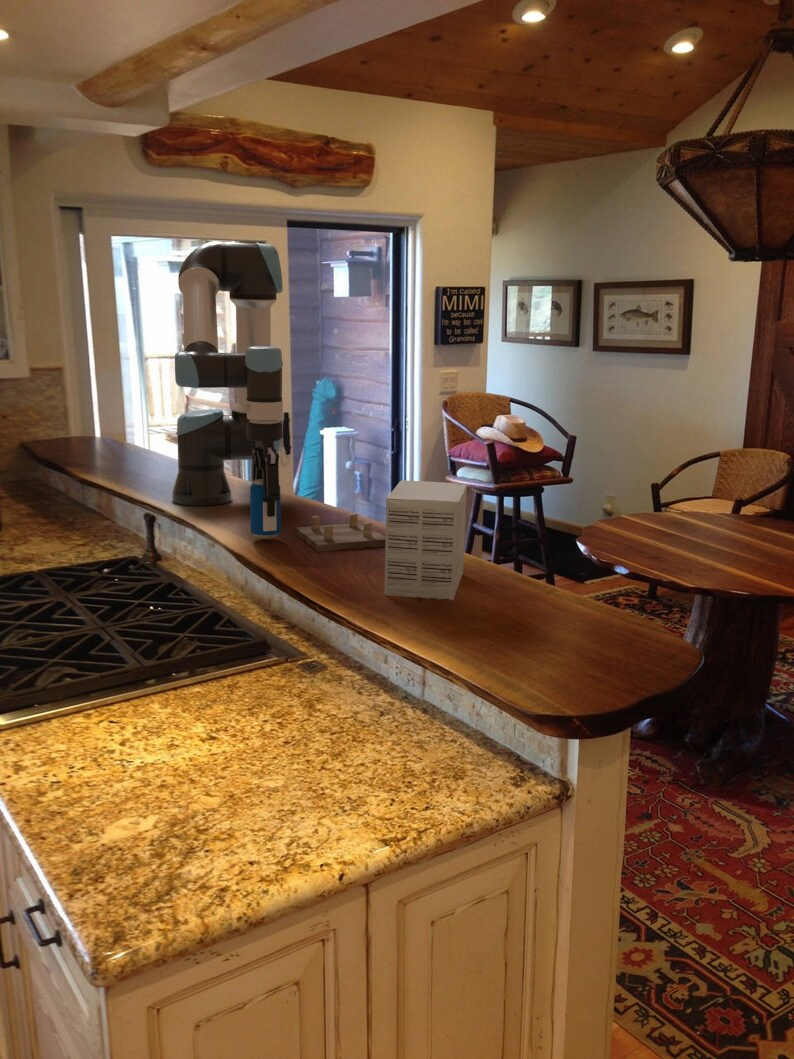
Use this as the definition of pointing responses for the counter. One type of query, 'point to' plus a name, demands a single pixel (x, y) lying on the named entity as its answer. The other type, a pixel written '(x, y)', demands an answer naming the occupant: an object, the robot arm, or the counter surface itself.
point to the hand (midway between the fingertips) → (265, 526)
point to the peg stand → (341, 535)
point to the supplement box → (425, 539)
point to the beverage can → (261, 511)
